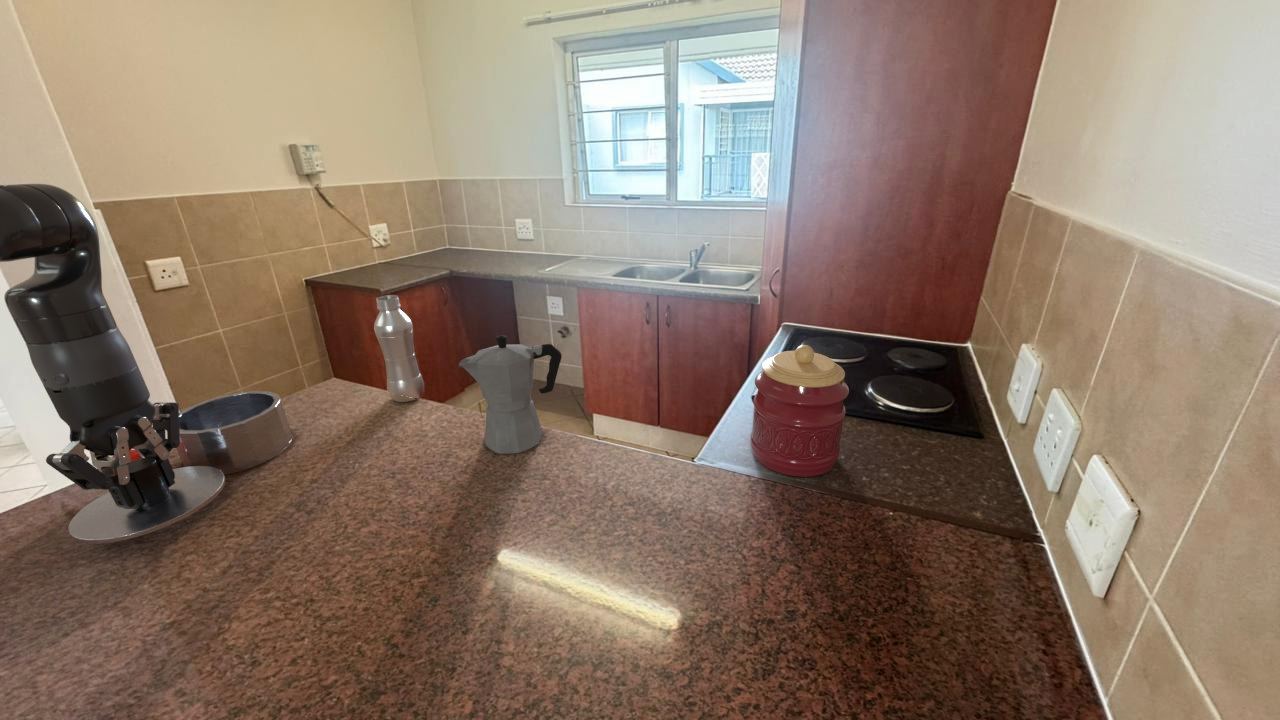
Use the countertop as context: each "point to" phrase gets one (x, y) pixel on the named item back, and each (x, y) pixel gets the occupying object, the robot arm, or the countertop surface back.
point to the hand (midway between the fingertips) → (149, 495)
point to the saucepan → (234, 431)
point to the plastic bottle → (398, 350)
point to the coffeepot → (511, 392)
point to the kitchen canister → (798, 413)
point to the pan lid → (148, 503)
